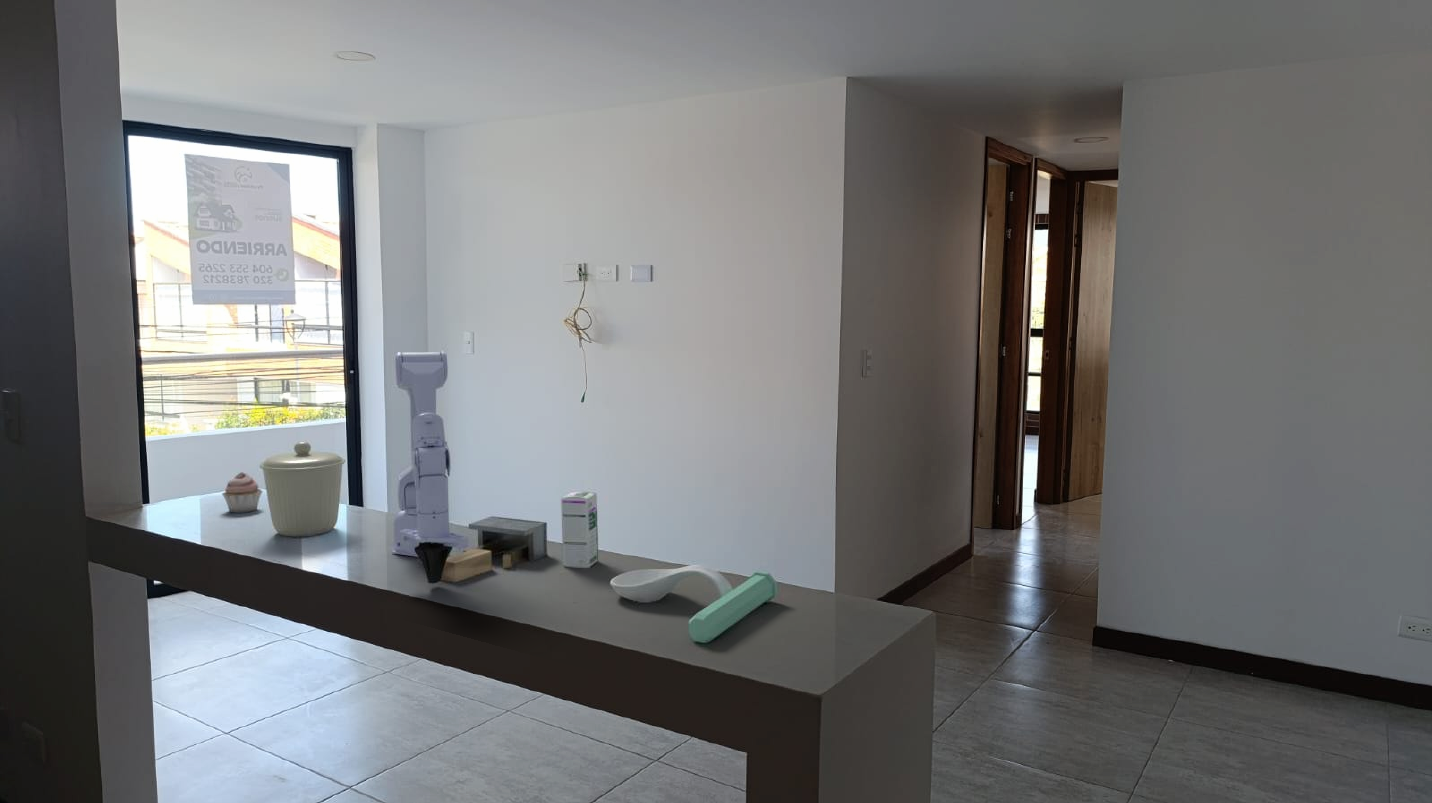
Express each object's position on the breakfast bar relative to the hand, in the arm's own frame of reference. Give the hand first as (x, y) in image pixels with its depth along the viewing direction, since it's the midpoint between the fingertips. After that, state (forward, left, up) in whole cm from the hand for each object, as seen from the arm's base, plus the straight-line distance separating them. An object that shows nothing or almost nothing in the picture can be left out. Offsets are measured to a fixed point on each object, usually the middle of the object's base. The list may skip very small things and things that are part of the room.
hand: (434, 581), depth 177 cm
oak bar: (0, +9, -1) cm, 9 cm away
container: (+58, +6, -2) cm, 58 cm away
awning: (0, +22, -1) cm, 22 cm away
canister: (-55, +22, -1) cm, 60 cm away
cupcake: (-87, +32, -1) cm, 93 cm away
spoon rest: (+44, +11, -2) cm, 46 cm away
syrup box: (+17, +25, -1) cm, 30 cm away
